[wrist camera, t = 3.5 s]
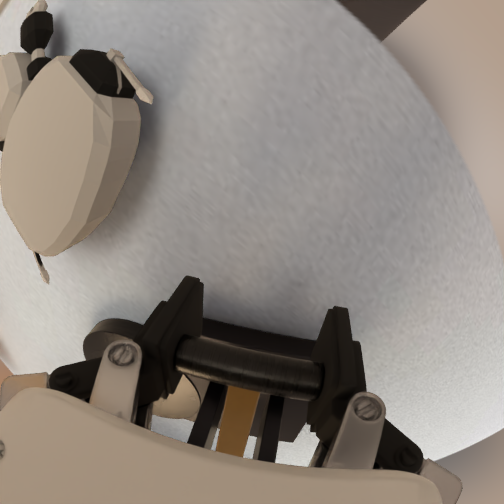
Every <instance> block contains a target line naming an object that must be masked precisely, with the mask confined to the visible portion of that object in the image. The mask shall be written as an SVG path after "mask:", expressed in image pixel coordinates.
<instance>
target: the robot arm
mask: <svg viewBox="0 0 504 504" xmlns="http://www.w3.org/2000/svg"><path fill="white" fill-rule="evenodd" d="M203 289H204V284H203V283H202V282H200V279H199V278H196V277H191V276H185V277H184V279H183V280H182V282H181V283H180V284H179V286H178V287H177V289H176V290H175V292H174V293H173V294H172V296H171V297H170V299H169V300H168V302H166V301H161V302H160V303H159V304H158V306H157V307H156V308H155V310H154V311H153V313H152V314H151V315H150V317H149V318H148V320H147V321H146V322H145V324H144V325H143V327H142V328H141V329H140V331H139V332H138V334H137V335H136V337H135V338H134V339H133V341H130V340H118V341H114V342H113V343H111V344H110V345H108V346H107V348H106V349H105V351H104V354H103V357H99V358H95V359H91V360H87V361H82V362H78V363H74V364H70V365H65V366H61V367H59V368H57V369H55V370H54V371H53V372H52V373H51V375H48V373H47V372H44V373H35V374H24V375H12V376H9V377H7V378H6V379H5V380H4V381H3V382H2V385H1V391H0V504H456V502H457V500H458V498H459V496H460V494H461V491H462V482H461V480H460V479H459V478H458V477H457V476H456V475H454V474H452V473H451V472H449V471H448V470H446V469H444V468H443V467H441V466H439V465H438V464H437V463H435V462H434V461H432V460H430V459H429V458H428V459H426V460H425V459H424V458H423V453H422V451H421V449H420V448H419V447H418V446H417V445H416V444H415V443H414V442H413V441H411V440H410V439H409V438H408V437H407V436H405V435H404V434H403V433H402V432H401V431H399V430H398V429H397V428H396V427H395V426H394V425H392V424H391V423H390V422H389V421H388V420H387V419H385V415H386V407H385V404H384V402H383V401H382V399H381V398H379V397H378V396H377V395H375V394H373V393H370V392H367V390H366V381H365V373H364V365H363V358H362V351H361V345H360V342H359V341H353V340H352V333H351V326H350V319H349V312H348V309H347V308H343V307H338V306H334V307H333V309H328V311H327V314H326V317H325V320H324V322H323V325H322V328H321V330H320V333H319V335H318V338H317V341H316V343H315V346H314V348H313V351H312V354H311V358H310V361H315V362H321V363H323V364H324V368H325V376H324V383H323V387H322V390H321V393H320V395H319V397H318V399H317V400H316V401H308V409H307V424H308V425H311V427H310V432H316V436H317V437H318V438H319V439H320V441H319V443H318V446H317V448H316V450H315V453H314V455H313V457H312V459H311V462H310V464H309V466H308V467H303V466H294V465H286V464H278V463H271V462H265V461H259V460H254V459H248V458H243V457H238V456H234V455H229V454H225V453H221V452H217V451H213V450H209V449H205V448H202V447H198V446H195V445H191V444H188V443H185V442H182V441H179V440H175V439H172V438H169V437H167V436H164V435H161V434H158V433H155V432H153V431H151V421H152V412H153V403H154V402H155V401H158V400H159V398H163V399H166V400H167V398H168V396H169V394H174V393H175V391H176V388H177V386H178V384H179V382H180V380H181V378H182V375H183V373H179V372H177V371H175V369H174V355H175V351H176V347H177V344H178V342H179V340H180V338H181V337H182V336H183V335H184V334H189V335H193V336H196V337H201V334H202V321H203Z"/></svg>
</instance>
